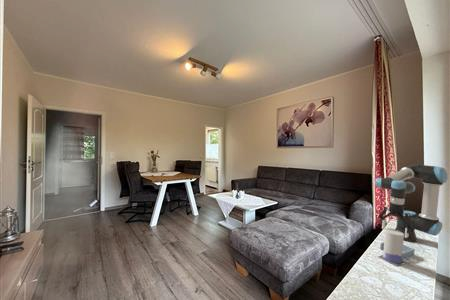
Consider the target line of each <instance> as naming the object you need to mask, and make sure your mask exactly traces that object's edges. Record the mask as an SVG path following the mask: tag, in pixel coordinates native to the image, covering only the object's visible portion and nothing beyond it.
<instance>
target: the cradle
mask: <svg viewBox="0 0 450 300" xmlns="http://www.w3.org/2000/svg"><path fill="white" fill-rule="evenodd" d="M379 247H380V248H379V249H380V251H383V250H384V241H383V242H380V244H379ZM415 253H416V252H415V249H414V248H412V247H411V246H408V245H405V244H403V250H402V260H403V261H405V260H407V259H410V258H412V257H415Z"/></svg>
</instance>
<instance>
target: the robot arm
mask: <svg viewBox="0 0 450 300" xmlns="http://www.w3.org/2000/svg"><path fill="white" fill-rule="evenodd" d="M410 179H418V180H421V183H422V184H423V191H422V192H423V193H422V200H421V202H422V203H421V213H419V214H417V213H416V212H414V211H411V210H405V202H406V201H405V199H406V198H405V197H406V194H411V193H413V192H415V191H416V186H415V184H414V183H412V182H410V181H405V180H410ZM447 180H448V172H447V170H446V168H444V167H441V166H436V165H428V164H426V165H425V164H424V165H423V164H411V165H407V166H404V167H402V168H401V169H400V170H399V171H396V172H395V173H392V174H389V175H388V176H387V177H383V178H382V177H377V178H376V179H375V181H374V183H375V184H374V185H375V186H376V187H377V188H380V189H385V190H389V191H390V196H389V197H390V198H389V201H390V202H389V206H385V207H383V210H382V211H381V212H380V214H379V215H378V218H379V219H380V221H381V222H380V223H381V229H382V230H384V229H386V224H387V218H388V217H390V216H393V217H396V227H395V230H398V231H400V232H402V233H403V234H404V240H403V242H404V241H405V242H410V243H411V242H412V243H416V242H417V240H418V238H417V235H416V232H415V230H416V231H419V232H422V233H425V234H427V235H431V236H438V235H439V234H440V233H441V231H442V228H443V223H442V222H441V221H440V218H439V217H438V216H437V215H438V207H439V197H440V187H442V186H443V185H444V184H446V183H447ZM387 211H389V212H388V213H387Z"/></svg>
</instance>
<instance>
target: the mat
mask: <svg viewBox="0 0 450 300" xmlns="http://www.w3.org/2000/svg"><path fill="white" fill-rule="evenodd" d="M378 258H380V259H381V260H383V261H385V262H387V263H389V264H391V265H393V266H395V267H399V266H401V265H404V264H406V263H407V262H406V261H405V260H402V261H401V263H394V262H390V261H388V260H386V259H385V258H384V257H383V254H381V255H378Z"/></svg>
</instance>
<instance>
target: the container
mask: <svg viewBox="0 0 450 300" xmlns="http://www.w3.org/2000/svg"><path fill="white" fill-rule="evenodd" d="M383 239H384V240H383V242H384V249H383V250H382V252H383V253H382V255H383V257H384V258H385V259H386V260H388V261H390V262H394V263H401V261H402V253H403V251H402V250H403V245H404V234H403V233H402V232H400V231H398V230H395V229H393V228H385V230H384V238H383Z"/></svg>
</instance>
